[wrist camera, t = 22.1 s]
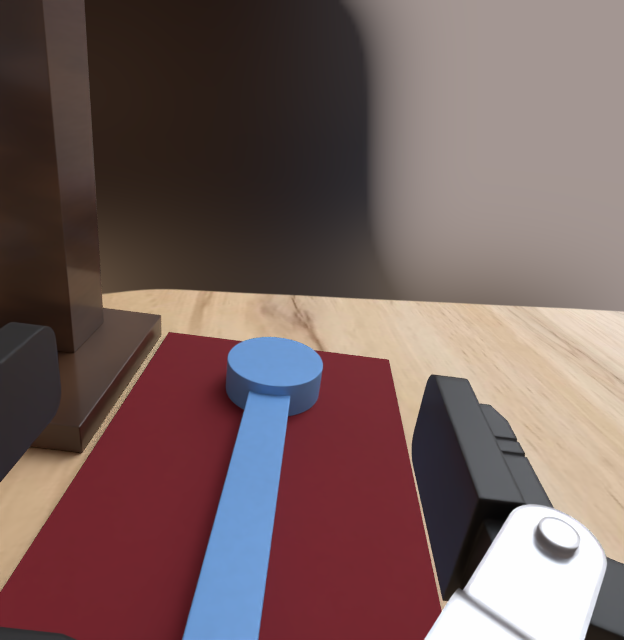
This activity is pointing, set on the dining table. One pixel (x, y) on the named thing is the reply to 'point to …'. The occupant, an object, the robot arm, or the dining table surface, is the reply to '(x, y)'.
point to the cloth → (202, 502)
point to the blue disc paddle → (251, 485)
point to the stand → (58, 217)
